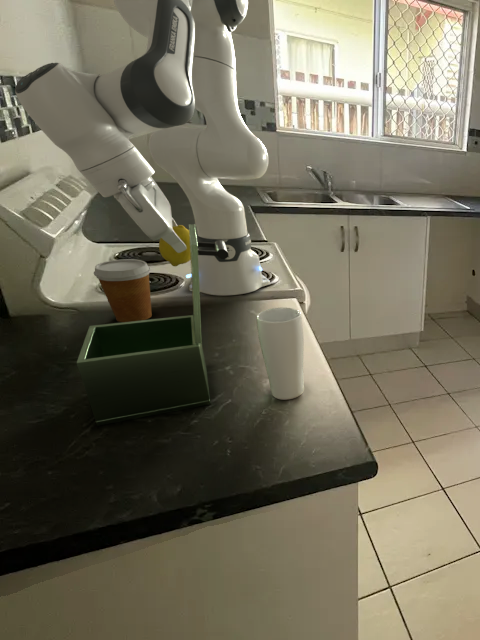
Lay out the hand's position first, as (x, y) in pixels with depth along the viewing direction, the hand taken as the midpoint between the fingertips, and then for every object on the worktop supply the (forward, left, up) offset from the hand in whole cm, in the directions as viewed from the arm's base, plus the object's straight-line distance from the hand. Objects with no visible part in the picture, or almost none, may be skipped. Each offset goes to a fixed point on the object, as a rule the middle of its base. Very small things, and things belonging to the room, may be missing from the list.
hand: (182, 244), depth 87 cm
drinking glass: (+25, +12, -21) cm, 35 cm away
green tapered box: (+17, -7, -21) cm, 28 cm away
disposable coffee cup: (-20, -12, -21) cm, 31 cm away
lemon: (0, -2, -4) cm, 5 cm away
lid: (+17, +1, -2) cm, 17 cm away
